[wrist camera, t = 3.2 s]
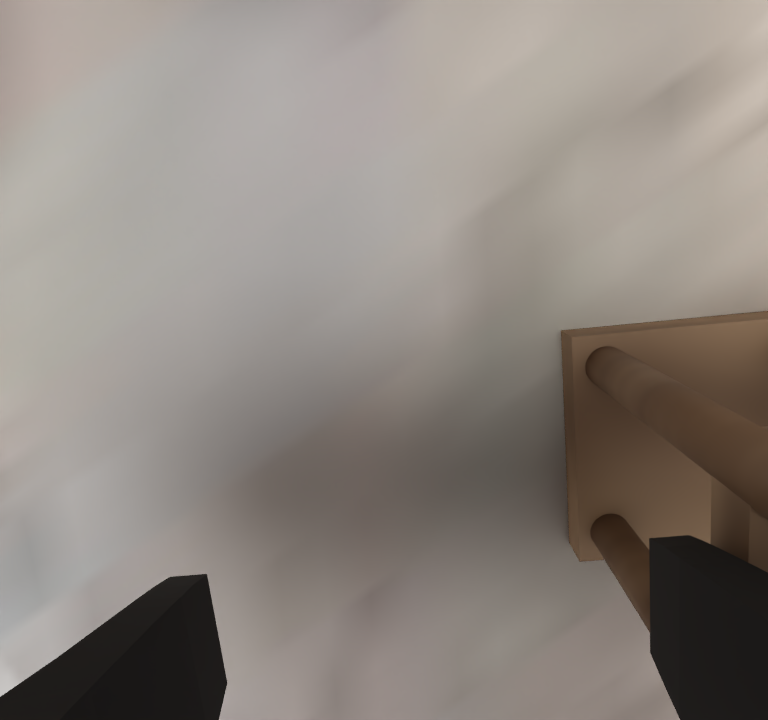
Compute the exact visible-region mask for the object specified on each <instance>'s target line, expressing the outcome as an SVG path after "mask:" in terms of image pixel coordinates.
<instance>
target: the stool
mask: <svg viewBox="0 0 768 720" xmlns="http://www.w3.org/2000/svg"><path fill="white" fill-rule="evenodd" d="M561 341H562V367H563V393H564V419H565V445H566V471H567V497H568V523H569V543H570V545H571V547H572V548H573V550H574V552H575V554H576V556H577V558H578V559H579V561H580V562H581V561H594V560H605V561H606V563H607V564H608V566H609V567H610V569H611V571H612V572H613V574H614V575H615V577H616V579H617V580H618V582H619V584H620V585H621V587H622V588H623V590H624V592H625V593H626V595H627V596H628V598H629V600H630V601H631V603H632V604H633V606H634V608H635V609H636V611H637V612H638V614H639V616H640V617H641V619H642V620H643V622H644V624H645V625H646V627H647V628H648V630H649V632H650V572H649V538H658V537H671V536H683V535H690V536H693V537H695V538H698V539H700V540H703V541H705V542H707V543H709V544H711V545H714V546H716V547H718V548H720V549H722V550H724V551H726V552H728V553H730V554H732V555H734V556H736V557H738V558H740V559H742V560H744V561H746V562H748V563H750V564H752V565H754V566H756V567H758V568H760V569H762V570H764V571H766V572H768V311H763V312H753V313H742V314H731V315H721V316H710V317H700V318H689V319H678V320H668V321H657V322H646V323H636V324H625V325H615V326H604V327H593V328H583V329H572V330H562V331H561Z"/></svg>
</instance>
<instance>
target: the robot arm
mask: <svg viewBox="0 0 768 720" xmlns="http://www.w3.org/2000/svg"><path fill="white" fill-rule="evenodd" d="M649 572H650V653H651V655H652V657H653V660H654V662H655V664H656V667H657V669H658V671H659V674H660V676H661V678H662V681H663V683H664V685H665V687H666V690H667V692H668V694H669V696H670V698H671V701H672V703H673V705H674V707H675V709H676V711H677V713H678V716H679V718H680V720H768V572H766V571H764V570H762V569H760V568H758V567H756V566H754V565H752V564H750V563H748V562H746V561H744V560H742V559H740V558H738V557H736V556H734V555H732V554H730V553H728V552H726V551H724V550H722V549H720V548H718V547H716V546H714V545H711V544H709V543H707V542H705V541H703V540H700V539H698V538H695V537H693V536H690V535H683V536H671V537H658V538H649ZM226 686H227V680H226V674H225V669H224V663H223V658H222V653H221V647H220V642H219V637H218V631H217V626H216V621H215V615H214V610H213V604H212V599H211V594H210V588H209V583H208V578H207V574H201V575H189V576H176V577H169V578H168V579H166V580H164V581H163V582H161V583H160V584H158V585H156V586H155V587H153V588H152V589H151V590H149V591H148V592H146V593H145V594H143V595H142V596H141V597H139V598H138V599H136V600H135V601H134V602H132V603H131V604H130V605H128V606H127V607H126V608H124V609H123V610H121V611H120V612H119V613H117V614H116V615H115V616H113V617H112V618H111V619H109V620H108V621H107V622H105V623H104V624H103V625H101V626H100V627H98V628H97V629H96V630H94V631H93V632H92V633H90V634H89V635H88V636H86V637H85V638H84V639H82V640H81V641H79V642H78V643H77V644H75V645H74V646H73V647H71V648H70V649H69V650H67V651H66V652H65V653H63V654H62V655H60V656H59V657H58V658H56V659H55V660H53V661H52V662H50V663H49V664H47V665H46V666H45V667H43V668H42V669H40V670H39V671H37V672H36V673H34V674H33V675H32V676H30V677H29V678H27V679H26V680H24V681H23V682H21V683H20V684H18V685H17V686H16V687H14V688H13V689H11V690H10V691H8V692H7V693H5V694H4V695H2V696H1V697H0V720H219V716H220V712H221V707H222V703H223V699H224V694H225V690H226Z"/></svg>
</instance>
